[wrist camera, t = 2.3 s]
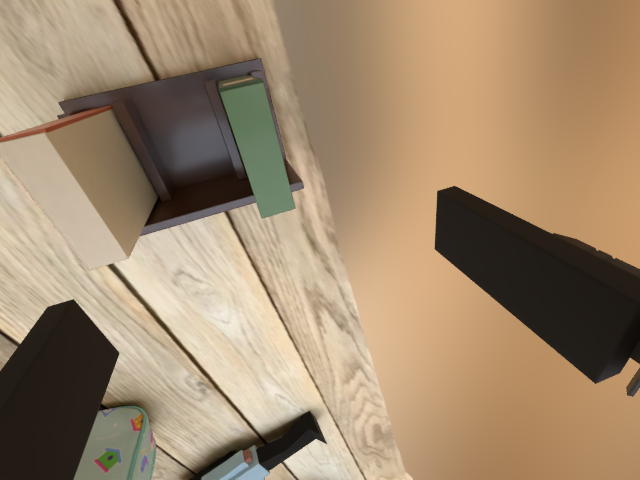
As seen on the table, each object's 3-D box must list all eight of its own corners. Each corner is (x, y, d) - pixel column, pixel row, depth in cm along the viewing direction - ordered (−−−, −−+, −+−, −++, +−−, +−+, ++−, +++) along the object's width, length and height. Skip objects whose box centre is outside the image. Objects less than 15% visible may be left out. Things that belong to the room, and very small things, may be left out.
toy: (330, 449, 62) (196, 543, 57) (315, 415, 69) (194, 497, 63) (315, 428, 57) (165, 531, 51) (301, 394, 63) (166, 482, 57)
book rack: (63, 101, 27) (2, 113, 19) (259, 58, 30) (273, 54, 22) (127, 207, 33) (100, 249, 25) (286, 163, 36) (304, 189, 28)
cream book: (87, 110, 27) (-14, 141, 15) (118, 103, 27) (41, 129, 16) (137, 196, 31) (88, 270, 20) (162, 189, 32) (129, 258, 20)
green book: (218, 80, 29) (218, 88, 17) (245, 74, 29) (262, 78, 17) (247, 166, 33) (261, 218, 22) (269, 160, 34) (295, 208, 22)
